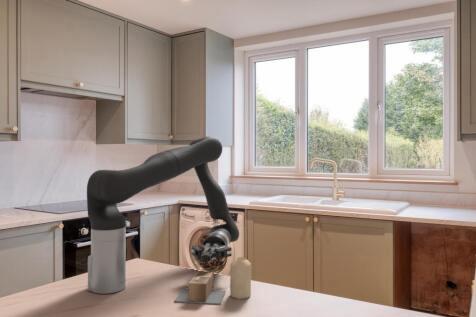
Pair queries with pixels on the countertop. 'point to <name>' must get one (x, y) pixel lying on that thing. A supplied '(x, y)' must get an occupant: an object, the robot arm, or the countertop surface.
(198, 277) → the tan rectangular block
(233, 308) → the countertop surface
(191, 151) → the robot arm
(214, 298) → the mat
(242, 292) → the candle
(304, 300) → the countertop surface
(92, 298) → the countertop surface
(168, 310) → the countertop surface
